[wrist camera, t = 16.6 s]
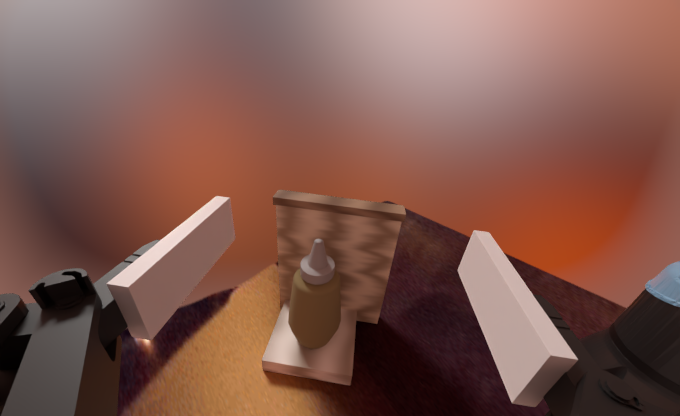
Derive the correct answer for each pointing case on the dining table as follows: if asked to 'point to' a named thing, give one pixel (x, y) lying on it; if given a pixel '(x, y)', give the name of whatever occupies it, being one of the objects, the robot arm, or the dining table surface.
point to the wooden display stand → (350, 262)
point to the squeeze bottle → (315, 299)
